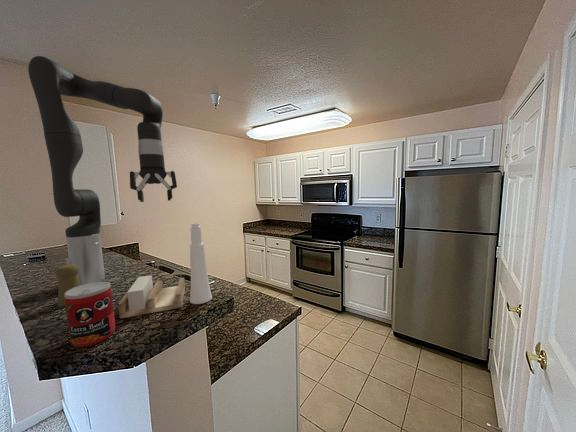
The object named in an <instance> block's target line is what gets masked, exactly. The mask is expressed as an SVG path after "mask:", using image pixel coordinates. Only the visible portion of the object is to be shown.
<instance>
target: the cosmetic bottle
mask: <svg viewBox="0 0 576 432" xmlns="http://www.w3.org/2000/svg"><path fill="white" fill-rule="evenodd" d="M189 229H190V241H191V244H190V245H189V259H190V261H189V262H190V296H189V303H190V304H193V305H201V304H205V303H208V302H210V301H211V300H212V299H213V296H212V291H211V286H210V280H209V275H208V267H207V259H206V251H205V245H204V243H203V239H202V238H203V237H202V226H201V224H200V222H194V223H190V228H189Z"/></svg>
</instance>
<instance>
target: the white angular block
mask: <svg viewBox="0 0 576 432" xmlns="http://www.w3.org/2000/svg"><path fill="white" fill-rule="evenodd" d="M131 286H132V287H131ZM131 286H130V287H129V289H128V290H129V291H128V290H127V291H126V293H127V294H128V303H129V311H134V310H140V309H145V308H146V306H147V304H148V301H147V299H148V297H149V295H150V293H151V291H152V289H153V287H154V283H153V275H146V276H145V275H143V276H138V277H137V278H136V280H135V282H134V283H133V284H132V285H131Z"/></svg>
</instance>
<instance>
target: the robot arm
mask: <svg viewBox="0 0 576 432" xmlns="http://www.w3.org/2000/svg"><path fill="white" fill-rule="evenodd" d="M27 70H28V77H29V81H30V84H31V87H32V89H33V93H34V96H35V99H36V101H37V102H36V103H37V107H38V110H39V114H40V120H41V123H42V127H43V128H42V129H43V136H44V141H45V146H46V150H47V155H48V158H49V164H50V165H49V166H50V170H51V171H50V172H51V179H52V180H51V181H52V191H53V203H54V207H55V209H56V212H57V213H58V214H59V215H60V216H62V217H64V218H72V217H73V218H74V217H79V218H78V221H76V223H74V224H72V225H71V226H69V227H67V228H65V238H66V245H67V253H68V254H67V255H68V258H66V260H65V261H66V265H68V264H76V265H77V266H78V267H79V273H78V274H77V275H78V278H79V281H80V284H81V285H84V284H88V283H93V282H104V281H105V280H106V276H105V275H106V273H105V265H104V258H103V249H102V248H103V247H102V240H101V239H102V238H101V231H100V229H101V225H102V220H101V204H100V199H99V196H98V194H97V192H96V191H94V190H92V189H87V188H85V189H80V188H79V189H76V188H75V189H74V183H73V176H74V175H73V174H74V171H75V169H76V167H77V165H78V163H79V162H80V160H81V158H82V156H83V153H84V147H83V146H84V145H83V141H82V136H81V132H80V129H79V128H78V126H77V124H76V123H75V121H74V119H73V117H71V115H70V113H69V112H68V110H67V108H66V106H65V104H64V103H63V100H62V96H66V97H74V98H83V99H87V100H91V101H96V102H98V103H101V104H105V105H108V106H112V107H114V108H118V109H123V110H131V111H134V112H137V113H139V114H141V115H142V121H141V122H139V123H138V124H137V127H136V128H137V139H138V145H137V147H138V149H137V152H138V158H139V168H140V169H139V171H131V170H130V172H129V188H130V190H134V191H136V193H137V199H138V201H139V202H140V203H145V198H144V191H143V189H144V188H145V186H147V185H148V184H149V185H155V184H157V185H159V184H160V185H161V184H162V185H163V186H164V187H165V188H166V189H167V190H166V192H167V194H166V195H167V201H168V202H169V201H171V200H172V199H173V190H174V189H177V188H178V184H177V178H176V173H175V171H174V170H171V171H166V168H165V156H164V155H165V154H164V147H163V142H162V141H163V140H162V132H161V131H162V130H161V128H162V122H163V115H164V114H163V113H164V111H163V110H164V109H163V107H162V103H161V102H160V101H159V100H158V98H156V97H154V96H153V95H151V94H150V93H148V92H147V91H145V90H142V89H139V88H133V87H125V86H123V85H122V86H121V85H119V84H114V83H112V82H108V81H100V80H91V79H90V80H89V79H87V78H84V77H82V76H80V75H78V74H76V73H73V72H72V71H70V69H67V68H66V67H64V66H63V65H60V64H59V63H57V62H56V61H54V60H52V59H50V58H48V57H45V56H42V55H35V56H34V57H32V58H31V59H30V60H29V63H28V67H27ZM139 176H140V177H141V179H142V180H141V181H140V182H139V184H138V186H137V180H136V179H138V178H139ZM167 176H168V177H169V178H170V179H171V183H172V184H171V185H170V184H169V183H168V182H167V181H166V179H165V178H166V177H167Z"/></svg>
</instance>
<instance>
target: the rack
mask: <svg viewBox="0 0 576 432" xmlns="http://www.w3.org/2000/svg"><path fill="white" fill-rule="evenodd" d="M185 285H186V284H185V277H180V278H179V281H178V285H175V286H169V287H168V286H167V287H164V286H163V280H158V281H156V282H155V284H153V289H152V291H151V293H150V295H149V297H148V299H147V301H148V304H147V306H146V308H145V309H140V310H134V311H129V303H128V294H127V292H128V291H129V289H128V290H127V292H126V293H125V294H124V296H123V297H122V298H121V300H120V301H119V302H118V304H117V307H118V308H117V309H118V314H119V317H118V318H119V319H125V318H130V317H136V316H141V315H147V314H152V313H158V312H163V311H169V310H174V309H175V310H176V309H179V308H180V309H181V308H183V304H184V297H185V291H186V286H185ZM131 287H132V285H131V286H130V288H131Z"/></svg>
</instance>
